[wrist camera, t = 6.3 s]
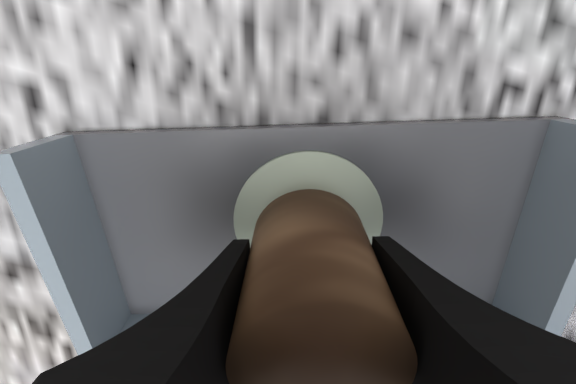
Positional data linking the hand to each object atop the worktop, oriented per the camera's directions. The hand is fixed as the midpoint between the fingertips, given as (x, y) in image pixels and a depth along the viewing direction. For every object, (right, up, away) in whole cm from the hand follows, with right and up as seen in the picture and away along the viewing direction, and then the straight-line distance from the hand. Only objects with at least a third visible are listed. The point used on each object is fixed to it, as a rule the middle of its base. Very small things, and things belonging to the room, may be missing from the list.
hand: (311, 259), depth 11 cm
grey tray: (0, 0, +4) cm, 4 cm away
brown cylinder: (0, +1, +2) cm, 2 cm away
